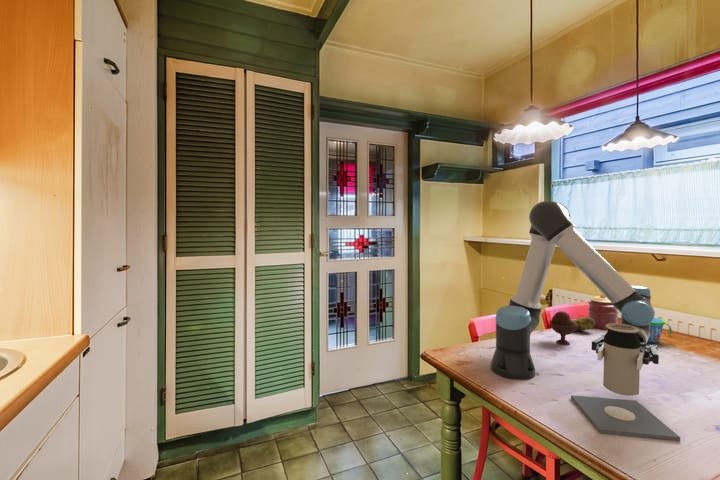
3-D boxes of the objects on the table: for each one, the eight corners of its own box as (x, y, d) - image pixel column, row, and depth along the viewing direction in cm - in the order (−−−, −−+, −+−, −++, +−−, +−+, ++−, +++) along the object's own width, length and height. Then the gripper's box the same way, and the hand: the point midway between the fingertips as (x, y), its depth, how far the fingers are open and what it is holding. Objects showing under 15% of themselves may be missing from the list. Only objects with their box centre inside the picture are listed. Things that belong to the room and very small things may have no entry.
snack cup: (626, 339, 157) (626, 318, 156) (628, 334, 164) (628, 314, 164) (671, 347, 146) (672, 324, 146) (671, 341, 154) (672, 319, 153)
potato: (567, 327, 178) (568, 312, 177) (596, 332, 168) (597, 316, 168) (562, 330, 172) (562, 315, 172) (592, 336, 162) (592, 320, 162)
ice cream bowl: (581, 348, 147) (582, 314, 147) (554, 346, 149) (554, 313, 149) (571, 340, 158) (571, 308, 157) (545, 338, 160) (546, 307, 159)
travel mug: (646, 397, 90) (648, 331, 89) (616, 396, 90) (617, 331, 90) (624, 383, 98) (626, 322, 97) (596, 382, 98) (597, 322, 98)
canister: (600, 330, 171) (601, 296, 171) (582, 323, 184) (582, 291, 183) (624, 329, 172) (625, 295, 172) (604, 322, 185) (604, 290, 184)
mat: (599, 433, 87) (600, 428, 87) (570, 398, 105) (570, 394, 105) (680, 441, 84) (680, 436, 84) (636, 403, 101) (636, 399, 101)
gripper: (675, 359, 99) (670, 386, 83) (591, 342, 114) (574, 362, 98) (675, 335, 99) (671, 356, 83) (592, 321, 114) (574, 337, 98)
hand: (618, 359), depth 90 cm, fingers closed on travel mug, 8 cm apart
